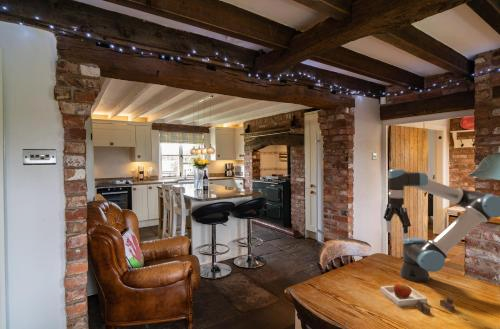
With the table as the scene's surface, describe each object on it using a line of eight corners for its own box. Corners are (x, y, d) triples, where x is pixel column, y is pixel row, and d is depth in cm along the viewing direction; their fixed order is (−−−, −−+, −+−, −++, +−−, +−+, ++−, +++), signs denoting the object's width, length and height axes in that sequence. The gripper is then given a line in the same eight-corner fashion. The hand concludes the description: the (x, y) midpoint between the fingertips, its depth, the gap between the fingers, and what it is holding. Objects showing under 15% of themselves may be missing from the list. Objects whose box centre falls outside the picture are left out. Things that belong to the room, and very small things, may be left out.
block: (446, 304, 136) (446, 295, 136) (456, 311, 130) (456, 301, 130) (414, 307, 134) (414, 298, 134) (424, 314, 128) (423, 304, 128)
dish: (406, 290, 151) (406, 284, 151) (427, 304, 136) (427, 298, 136) (380, 292, 150) (380, 286, 150) (398, 307, 135) (398, 300, 135)
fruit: (387, 293, 144) (392, 278, 146) (396, 297, 147) (401, 283, 149) (402, 300, 137) (407, 284, 138) (411, 304, 140) (416, 289, 141)
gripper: (377, 194, 166) (377, 229, 167) (404, 200, 141) (405, 242, 142) (388, 194, 167) (389, 229, 168) (418, 200, 142) (418, 241, 143)
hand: (396, 235), depth 155 cm, fingers open, 13 cm apart
